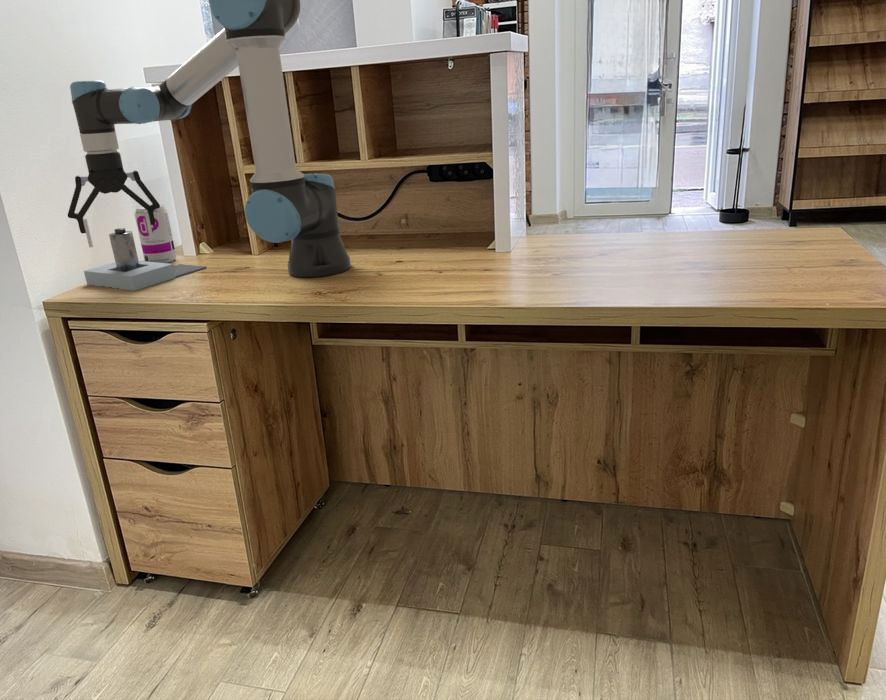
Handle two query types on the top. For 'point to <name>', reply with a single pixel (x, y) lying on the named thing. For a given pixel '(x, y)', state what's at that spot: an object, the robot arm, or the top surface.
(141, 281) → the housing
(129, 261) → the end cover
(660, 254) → the top surface
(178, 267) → the pad
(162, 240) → the supplement can
